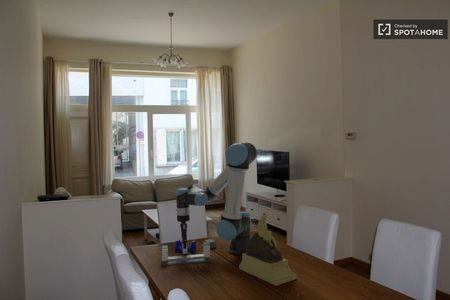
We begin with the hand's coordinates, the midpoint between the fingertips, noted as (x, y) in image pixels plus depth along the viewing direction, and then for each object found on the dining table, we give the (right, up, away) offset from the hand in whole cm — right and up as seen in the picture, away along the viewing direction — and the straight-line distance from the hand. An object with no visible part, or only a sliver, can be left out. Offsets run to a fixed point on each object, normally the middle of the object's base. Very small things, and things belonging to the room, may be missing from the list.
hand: (184, 251), depth 231 cm
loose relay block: (+15, 0, +7) cm, 17 cm away
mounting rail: (+3, -1, -17) cm, 17 cm away
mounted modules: (+3, +1, -17) cm, 17 cm away
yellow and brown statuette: (+45, -1, -42) cm, 61 cm away
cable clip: (0, -1, +1) cm, 1 cm away
